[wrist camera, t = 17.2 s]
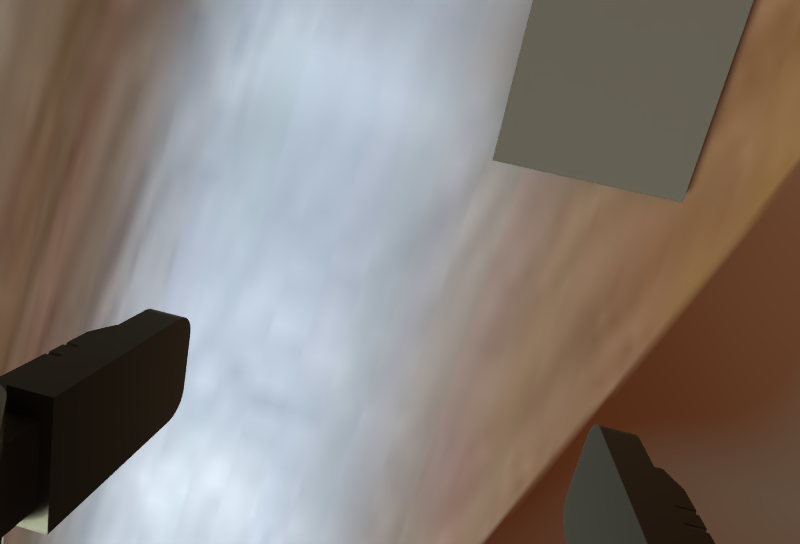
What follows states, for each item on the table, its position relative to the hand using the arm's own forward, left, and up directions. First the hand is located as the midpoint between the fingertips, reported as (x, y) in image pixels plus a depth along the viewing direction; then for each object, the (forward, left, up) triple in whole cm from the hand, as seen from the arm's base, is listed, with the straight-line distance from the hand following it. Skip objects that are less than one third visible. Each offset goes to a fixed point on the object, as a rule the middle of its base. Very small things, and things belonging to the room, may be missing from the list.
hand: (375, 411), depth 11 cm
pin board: (+8, +15, -28) cm, 33 cm away
